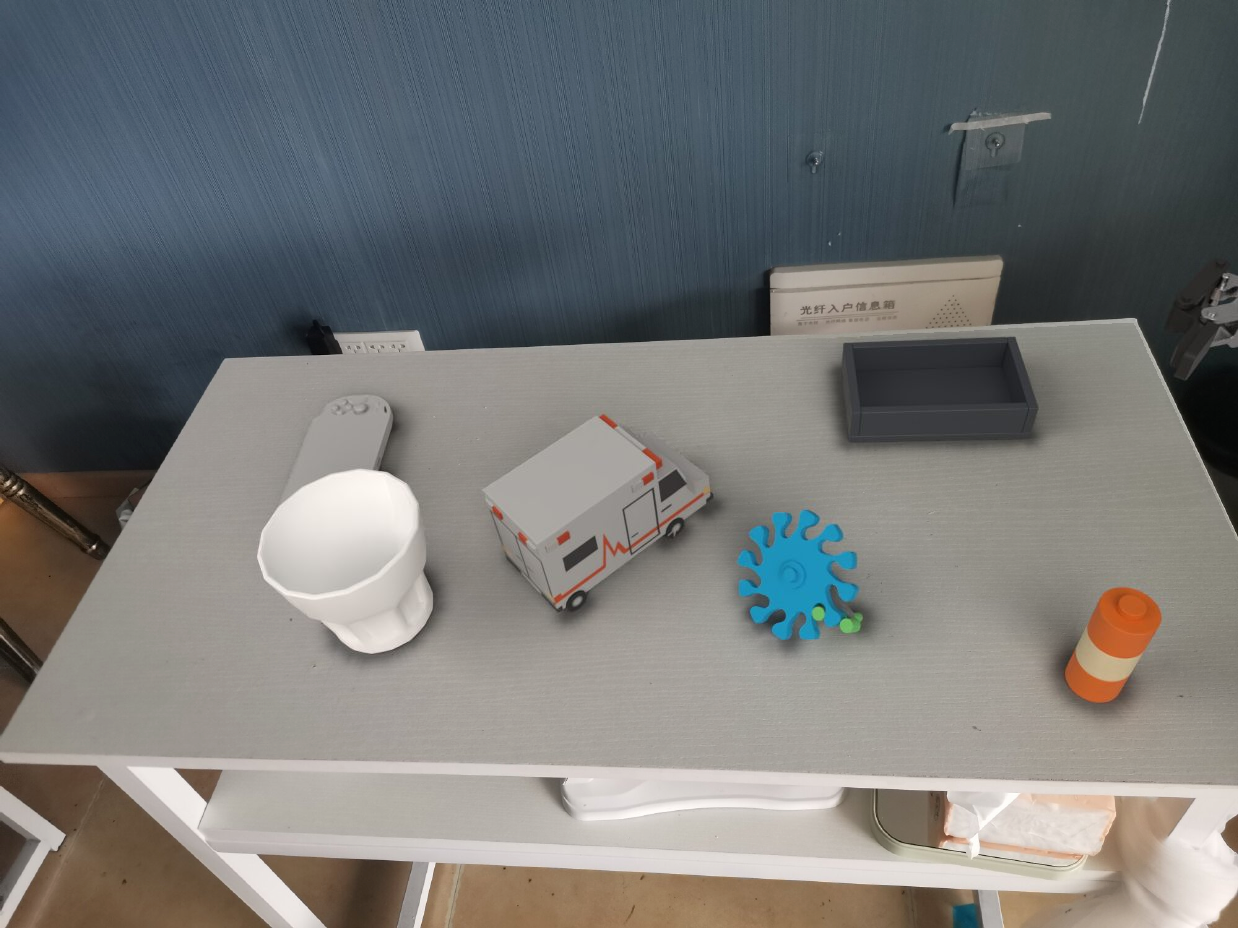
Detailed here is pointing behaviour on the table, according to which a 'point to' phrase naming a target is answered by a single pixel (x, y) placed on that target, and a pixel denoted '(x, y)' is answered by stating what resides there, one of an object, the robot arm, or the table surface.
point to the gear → (800, 578)
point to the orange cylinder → (1112, 644)
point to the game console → (342, 440)
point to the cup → (352, 558)
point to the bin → (937, 390)
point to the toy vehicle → (591, 506)
